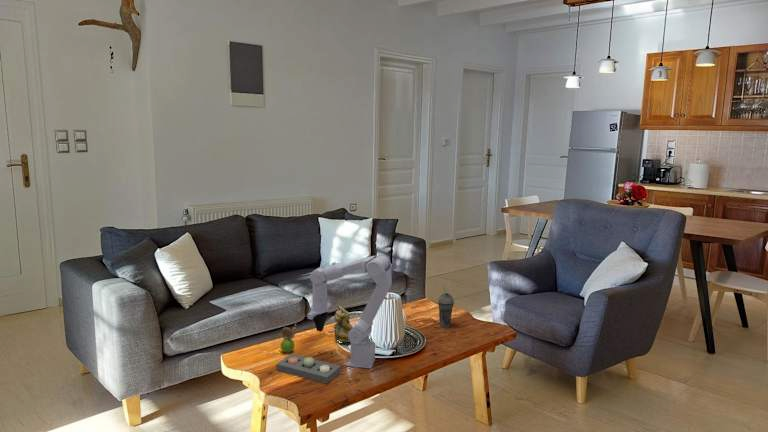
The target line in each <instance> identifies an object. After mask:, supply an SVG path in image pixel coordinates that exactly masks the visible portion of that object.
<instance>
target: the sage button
mask: <svg viewBox="0 0 768 432" xmlns="http://www.w3.org/2000/svg"><path fill="white" fill-rule="evenodd" d="M305 357H306V358H304V367H306V368H309V369H311V368H312V367H313V366H314V358H313V357H310V356H309V357H307V356H305Z"/></svg>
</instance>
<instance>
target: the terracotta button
mask: <svg viewBox="0 0 768 432" xmlns="http://www.w3.org/2000/svg"><path fill="white" fill-rule="evenodd" d="M288 363H290V364H294V365H295V364H296V363H298V358H297V357H290V358H289V359H288Z"/></svg>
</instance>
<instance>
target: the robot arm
mask: <svg viewBox="0 0 768 432" xmlns="http://www.w3.org/2000/svg"><path fill="white" fill-rule="evenodd" d="M392 269H393V264H392V263H391V260H390V258H389V257H388V256H387V255H385V254H378V255H377V256H376V255H371V256H367V257H364V258H360V259H357V260H353V261H351V262H349V263H345V264H342V263H341V262H336V261H335V262H331V264H329V265H322V266H319V267H317V268H316V269H315V270H313V271H311V272H310V274H309V279H310V281H311V283H312V306H311V307H310V309H309V310H310V311H309V313H307V319H308V320H311V321H312V320H313V323H314V326H315V329H316V331H317V332H323V331H324V327H325V325H326V324H325V323H326V321H327V318H328V316H329V312H328V311H329V309H332V303H331V302H328V282H330V281H333V280H337V279H342V278H343V277H344V276H345V274H347V273H351V272H352V273H353V272H355V271H356V272H357V271H360V270H361V271H362V272H363V273H367V274H368V275H369V276H370V278H371V279H372V281H374V282H375V285H376V286H375V288H374V290H373V291H372V294H371V296H370V298H369V300H368V302H367V304H366V305H365V308H364V309H363V312H362V313H361V314H360V315H361V316H360V318H359V319H358V321H357V322H356V323H355V325H354V326H353V329H351V330H350V331H349V333H348V339H349V341H350V351H349V352H350V354H349V355H350V357H349V361H348V363H347V364H346V365H347V367H354V368H362V369H363V368H364V369H372V368H373V365H374V363H375V361H376V355H375V354H376V343H375V342H374V341H370V338H369V336H370V335H371V334H372V331H373V330H372V327H373V326H374V325H373V324H374V322H373V321H374V320H375V318H376V316H377V314H378V312H379V310H380V308H381V307H382V304H383V302H384V300H385V299H386V296H387V295H388V293H389V291H390V290H391V287H392V285H393V284H392V283H393V279H392Z"/></svg>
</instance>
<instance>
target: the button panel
mask: <svg viewBox="0 0 768 432" xmlns="http://www.w3.org/2000/svg"><path fill="white" fill-rule="evenodd" d="M290 357H297V358H298V363H296V364H295V365H294V364H290V363H288V359H289V358H290ZM306 357H307V356H303V355H300V354H299V355H298V354H295V353H290V354H289V355H287V356H286V357H285V358H283V359H281V360H280V361H279V362H277V363H276V371H277V372H282V373H285V374H288V375H292V376H297V377H300V378H303V379H307V380H311V381H314V382H319V383H322V384H326V385H328V384H329V383H330V382H331V381H332V380H333V379H335V378H337V376H338V375H339V374H341V372H342V366H341V365H338V364H335V363H334V364H333V363H330V362H327V361H323V360H318V359H314V358H313V359H314V366H313V367H312V368H311V369H309V368H306V367H304V358H306ZM322 365H328V366H330V371H329V372H327V373H325V372H321V371H320V366H322Z"/></svg>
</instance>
